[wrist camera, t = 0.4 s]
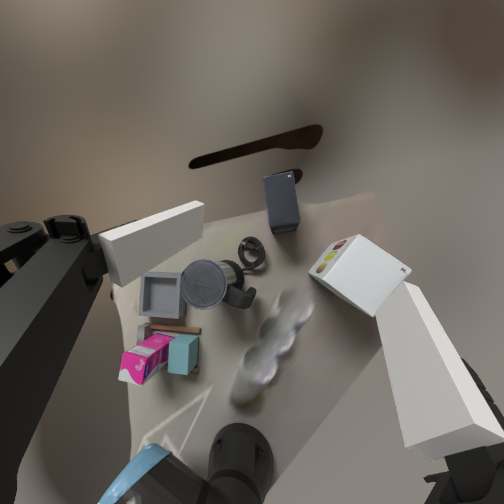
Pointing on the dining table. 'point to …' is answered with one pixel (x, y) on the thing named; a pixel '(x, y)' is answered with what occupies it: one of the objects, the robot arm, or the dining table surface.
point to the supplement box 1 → (145, 359)
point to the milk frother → (220, 280)
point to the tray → (161, 295)
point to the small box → (281, 202)
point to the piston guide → (146, 329)
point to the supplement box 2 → (359, 272)
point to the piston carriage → (182, 354)
